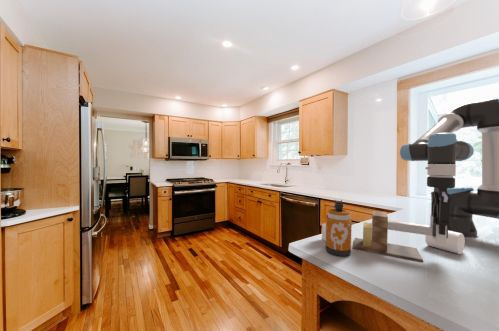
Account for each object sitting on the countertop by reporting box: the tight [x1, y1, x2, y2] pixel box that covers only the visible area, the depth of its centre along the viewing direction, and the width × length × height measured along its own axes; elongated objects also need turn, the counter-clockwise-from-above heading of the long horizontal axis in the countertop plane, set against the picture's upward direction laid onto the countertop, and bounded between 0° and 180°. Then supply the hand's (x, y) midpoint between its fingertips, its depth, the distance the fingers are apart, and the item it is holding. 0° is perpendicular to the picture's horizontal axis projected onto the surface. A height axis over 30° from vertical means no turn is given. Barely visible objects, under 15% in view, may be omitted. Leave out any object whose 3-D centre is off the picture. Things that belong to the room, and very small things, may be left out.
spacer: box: [362, 221, 372, 248], centre depth 87 cm, size 3×8×8 cm, turn 150°
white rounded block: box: [424, 231, 466, 255], centre depth 86 cm, size 12×10×8 cm
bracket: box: [352, 210, 424, 262], centre depth 84 cm, size 22×12×14 cm, turn 60°
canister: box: [325, 199, 353, 257], centre depth 81 cm, size 9×11×20 cm
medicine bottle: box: [321, 213, 328, 242], centre depth 92 cm, size 7×7×12 cm
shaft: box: [388, 214, 448, 238], centre depth 80 cm, size 20×4×7 cm, turn 60°
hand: (438, 240), depth 76 cm, fingers closed on shaft, 4 cm apart
